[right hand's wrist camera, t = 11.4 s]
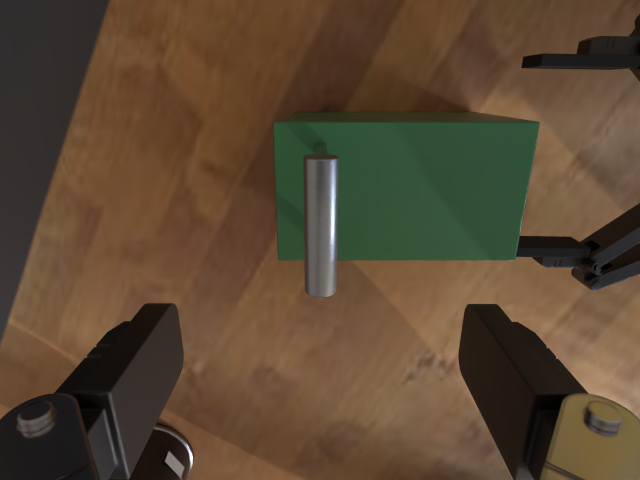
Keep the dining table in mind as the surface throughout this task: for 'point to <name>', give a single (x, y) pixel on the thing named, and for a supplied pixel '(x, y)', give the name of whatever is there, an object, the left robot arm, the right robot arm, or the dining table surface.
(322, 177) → the lid
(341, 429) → the dining table surface
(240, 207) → the dining table surface
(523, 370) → the right robot arm
